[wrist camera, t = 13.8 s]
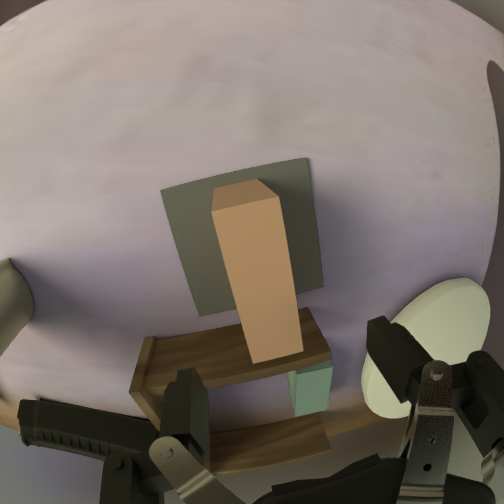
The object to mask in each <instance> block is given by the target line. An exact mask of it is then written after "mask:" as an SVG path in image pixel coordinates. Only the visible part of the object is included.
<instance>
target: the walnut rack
mask: <svg viewBox="0 0 504 504" xmlns="http://www.w3.org/2000/svg"><path fill="white" fill-rule="evenodd" d="M298 315H299V322H300V329H301V337H302V344H303V351H302V352H299V353H295V354H291V355H287V356H283V357H279V358H275V359H271V360H267V361H263V362H258V363H254V364H253V362H252V358H251V355H250V352H249V348H248V345H247V342H246V338H245V335H244V331H243V328H242V324H241V323H240V324H236V325H231V326H227V327H222V328H217V329H212V330H207V331H202V332H197V333H192V334H187V335H181V336H176V337H170V338H164V339H158V340H155V338H154V336H151V337H145V339H144V342H143V345H142V349H141V352H140V355H139V358H138V362H137V365H136V368H135V372H134V375H133V379H132V382H131V386H130V389H129V394H130V395H131V396H132V398H133V399H134V400H135V402H136V403H137V404H138V406H139V407H140V408H141V410H142V411H143V412H144V414H145V415H146V416H147V417H148V419H149V420H150V421H151V422H152V424H153V425H154V426H155V427H156V428H157V430H158V431H160V422H161V414H162V409H163V408H162V405H163V402H164V401H163V398H164V391H165V389H166V387H167V386H168V384H169V382H173V381H176V378H177V371H178V370H179V369H184V368H190V367H195V368H196V370H197V372H198V374H199V376H200V378H201V380H202V382H203V384H204V386H205V388H206V389H209V388H215V387H221V386H227V385H232V384H237V383H242V382H247V381H252V380H257V379H261V378H266V377H270V376H274V375H278V374H282V373H286V372H290V371H294V370H298V369H302V368H305V367H309V366H312V365H316V364H319V363H323V362H326V361H329V360H331V350H330V348H329V346H328V344H327V343H326V341H325V339H324V337H323V335H322V333H321V331H320V329H319V327H318V325H317V323H316V322H315V320H314V318H313V316H312V314H311V312H310V310H309V308H308V307H306V308H302V309H298ZM209 435H210V458H208V459H203V467H204V468H206V469H207V470H208V471H209V472H210V473H211V474H212V475H213V476H214V475H222V474H231V473H239V472H246V471H253V470H259V469H265V468H270V467H275V466H280V465H285V464H288V463H293V462H297V461H301V460H305V459H309V458H312V457H316V456H320V455H323V454H326V453H330V452H331V447H330V444H329V442H328V439H327V436H326V433H325V430H324V428H323V425H322V422H321V419H320V417H319V414H318V412H315V413H311V414H308V415H304V416H300V417H296V418H292V419H288V420H284V421H280V422H276V423H271V424H266V425H262V426H257V427H251V428H246V429H240V430H234V431H227V432H220V433H212V434H209Z"/></svg>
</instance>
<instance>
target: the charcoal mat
mask: <svg viewBox="0 0 504 504" xmlns="http://www.w3.org/2000/svg"><path fill="white" fill-rule="evenodd" d="M252 179H258V180H259V181H261V182H262V183H263V184H264V185H265V186H267V187H268V188H269V189H270V190H272V191H273V192H274V193H275V194H277V195H278V196H279V200H280V205H281V211H282V216H283V222H284V227H285V233H286V239H287V245H288V251H289V257H290V263H291V269H292V275H293V282H294V288H295V294H297V293H301V292H305V291H309V290H313V289H317V288H320V287H324V286H323V276H322V266H321V257H320V248H319V240H318V232H317V224H316V217H315V209H314V203H313V196H312V189H311V183H310V177H309V171H308V165H307V159H306V158H300V159H295V160H289V161H283V162H278V163H273V164H268V165H263V166H258V167H253V168H248V169H243V170H239V171H234V172H230V173H226V174H221V175H217V176H213V177H209V178H205V179H201V180H197V181H193V182H189V183H185V184H181V185H178V186H174V187H170V188H167V189H163V190H161V191H160V192H161V195H162V199H163V203H164V206H165V210H166V213H167V217H168V220H169V224H170V227H171V231H172V234H173V237H174V240H175V244H176V247H177V250H178V253H179V257H180V260H181V263H182V266H183V269H184V272H185V275H186V278H187V281H188V284H189V287H190V290H191V293H192V296H193V298H194V301H195V304H196V307H197V310H198V313H199V315H200V316H203V315H207V314H212V313H217V312H222V311H226V310H231V309H235V308H237V307H236V303H235V300H234V296H233V292H232V289H231V285H230V281H229V278H228V274H227V270H226V267H225V263H224V259H223V255H222V252H221V248H220V244H219V240H218V236H217V233H216V229H215V225H214V221H213V217H212V213H211V210H212V202H213V194H214V188H217V187H221V186H226V185H230V184H234V183H239V182H243V181H248V180H252Z"/></svg>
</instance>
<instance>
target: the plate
mask: <svg viewBox="0 0 504 504" xmlns="http://www.w3.org/2000/svg"><path fill="white" fill-rule="evenodd" d="M489 320H490V304H489V299H488V296H487V294H486V293H485V291H484V290H483V288H482V287H481V286H480V285H479V284H477V283H475V282H474V281H472V280H471V279H469V278H458V279H450V280H445V281H443V282H441V283H438V284H436V285H434V286H432V287H431V288H429V289H428V290H426V291H425V292H423V293H422V294H420V295H419V296H417V297H416V298H415V299H414V300H413V301H412V302H410V303H409V304H408V305H407V306H406V307H404V308H403V309H402V311H401V312H400V313H399V314H398V315H397V316H396V317H395V318H394V319H393V320H392V321H391V322H390V323H391V324H392V323H394V322H396V323H398V324H400V325H402V326H404V327H405V328H406V329H407V330H408V331H409V332H410V333H411V335H413V336H414V338H415V339H416V340H417V341H418V342H419V343H420V344H421V345H422V347H423V348H424V349H425V350H426V351H427V352H428V353H429V355H430V356H431V357H432V358H433V359H434V360H441V361H444V362H446V363H448V364H449V365H453V364H458V363H462V362H466V360H467V358H468V356H469V354H470V353H472V352H474V351H478V350H481V348H482V345H483V342H484V339H485V337H486V333H487V330H488V325H489ZM361 386H362V390H363V395H364V399H365V402H366V404H367V405H368V407H369V408H370V409H371V410H372V411H373V412H374V413H376V414H378V415H380V416H381V417H386V418H402V417H405V416H409V411H410V407H411V403H410V402H409V401H407V402H405V403H403V404H400V402H399V400H398V399H397V397H396V396H395V394H394V393H393V391H392V389H391V388H390V386H389V385H388V383H387V382H386V380H385V379H384V377H383V376H382V374H381V373H380V371H379V370H378V368H377V367H376V365H375V364H374V362H373V361H372V359H371V358H370V356H369V354H368V351H367V355H366V359H365V362H364V366H363V370H362V376H361Z"/></svg>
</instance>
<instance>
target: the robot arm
mask: <svg viewBox="0 0 504 504" xmlns="http://www.w3.org/2000/svg"><path fill="white" fill-rule="evenodd" d="M33 312H34V303H33V297H32V295H31V291H30V289H29V287H28V285H27V283H26V282H25V280H24V278H23V277H22V276H21V274H20V273H19V272H18V271H17V270H16V269H15V268H14V267H13V266H12V264H11V262H10V260H9V258H7V259H5V260H2V261H0V357H1V355H2V354H3V353H4V351H5V350H6V349H7V347H8V346H9V345H10V343H11V342H12V341H13V340H14V338H15V337H16V336H17V335H18V333H19V332H20V331H21V330H22V329H23V328H24V326H25V325H26V323H27V322H28V321H29V320H30V319H31V317H32V315H33ZM366 346H367V351H368V354H369V356H370V358H371V359H372V361H373V362H374V364H375V365H376V367H377V368H378V370H379V371H380V373H381V374H382V376H383V377H384V379H385V380H386V382H387V383H388V385H389V386H390V388H391V389H392V391H393V393H394V394H395V396H396V397H397V399H398V400H399V402H400V404H403V403H405V402H407V401H409V402H410V403H411V407H410V411H409V416H408V421H407V426H406V430H405V435H404V439H403V442H402V445H401V448H400V451H399V454H398V457H383V458H379V456H378V454H377V453H376V454H374V455H371V456H369V457H367V458H364V459H362V460H359V461H357V462H354V463H352V464H350V465H349V466H347V467H346V468H344V469H342V470H341V471H339V472H337V473H336V474H334V475H332V476H330V477H328V478H322V479H307V480H296V481H292V482H288V483H283V484H278V485H273V486H272V492H269V493H267V494H266V495H263V496H262V497H260V498H259V499H258V500H256V501H255V502H254V503H253V504H496V503H498V502H499V501H500V500H501V499H503V498H504V370H503V369H502V368H501V367H500V366H499V365H498V363H497V362H496V361H494V359H493V358H492V357H491V356H490V355H489V354H488V353H487V352H485V351H481V350H478V351H474V352H472V353H470V354H469V356H468V358H467V360H466V362H462V363H458V364H453V365H449V364H448V363H446V362H444V361H441V360H434V359H433V358H432V357H431V356H430V355H429V353H428V352H427V351H426V350H425V349H424V348H423V347H422V345H421V344H420V343H419V342H418V341H417V340H416V339H415V338H414V336H413V335H411V333H410V332H409V331H408V330H407V329H406V328H405V327H404V326H402V325H400V324H398V323H396V322H394V323H392V324H391V323H390V322H389V321H388V319H387V318H386V317H385V316H380V317H377V318H375V319H372V320H369V321H368V323H367V343H366ZM163 401H164V402H163V405H162V408H163V409H162V414H161V422H160V431H159V438H158V439H157V440H155V441H154V442H153V443H152V445H151V446H150V449H149V450H147V451H144V452H141V453H138V454H135V455H132V456H130V455H128V454H127V453H126V452H123V451H115V452H113V453H111V454H109V455H108V456H107V457H106V459H105V461H104V466H103V473H102V482H101V491H100V492H101V493H100V504H164V492H165V491H169V490H172V489H176V490H177V492H178V493H179V494H178V495H179V497H180V498H181V499H182V500H183V501H184V503H185V504H246V503H245V502H244V501H242V500H241V499H240V498H239V497H237V496H236V495H235V494H234V493H233V492H231V491H230V490H229V489H228V488H227V487H226V486H224V485H223V484H222V483H221V482H220V481H219V480H218V479H217V478H215V477H214V476H213V475H212V474H211V473H210V472H209V471H208V470H207V469H206V468H204V467H203V459H208V458H210V435H209V403H208V394H207V390H206V388H205V386H204V384H203V382H202V380H201V378H200V376H199V374H198V372H197V370H196V368H195V367H190V368H184V369H179V370H178V371H177V378H176V381H173V382H169V384H168V386H167V387H166V389H165V391H164V398H163ZM452 408H454V410H455V411H456V412H457V414H458V416H459V418H460V419H461V421H462V422H463V424H464V426H465V427H466V429H467V430H468V432H469V434H470V435H471V437H472V439H473V440H474V442H475V444H476V446H477V447H478V449H479V451H480V452H481V454H482V456H483V458H484V459H483V461H482V465H481V475H482V476H483V482H478V481H474V480H470V479H466V478H463V477H459V476H455V475H452V474H449V473H447V469H448V463H449V457H450V451H451V445H452V437H453V428H454V417H455V414H454V411H451V409H452Z"/></svg>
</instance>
